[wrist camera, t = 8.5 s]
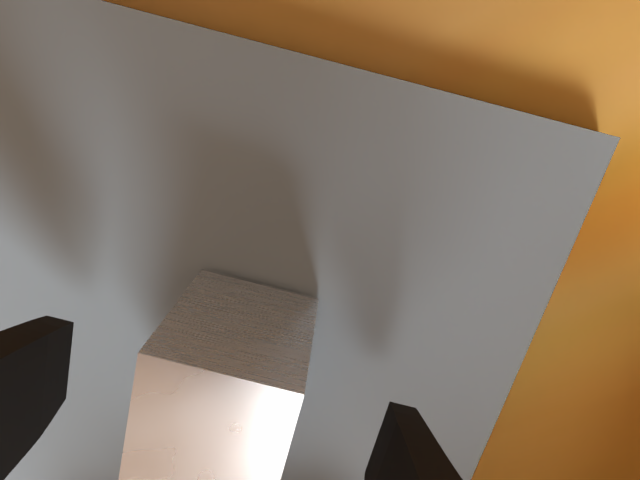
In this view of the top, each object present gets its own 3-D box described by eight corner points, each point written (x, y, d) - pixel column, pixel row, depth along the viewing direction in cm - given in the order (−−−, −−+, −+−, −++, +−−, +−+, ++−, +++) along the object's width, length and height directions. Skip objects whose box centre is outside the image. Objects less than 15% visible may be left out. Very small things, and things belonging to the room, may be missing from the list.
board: (370, 673, 19) (372, 706, 18) (-7, 582, 18) (-27, 610, 17) (599, 132, 12) (620, 137, 11) (27, -19, 12) (0, -27, 11)
